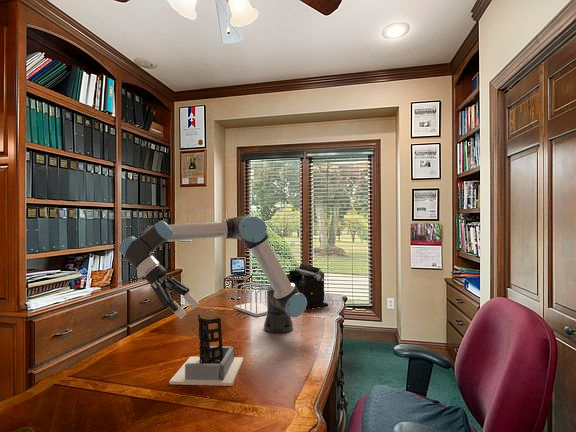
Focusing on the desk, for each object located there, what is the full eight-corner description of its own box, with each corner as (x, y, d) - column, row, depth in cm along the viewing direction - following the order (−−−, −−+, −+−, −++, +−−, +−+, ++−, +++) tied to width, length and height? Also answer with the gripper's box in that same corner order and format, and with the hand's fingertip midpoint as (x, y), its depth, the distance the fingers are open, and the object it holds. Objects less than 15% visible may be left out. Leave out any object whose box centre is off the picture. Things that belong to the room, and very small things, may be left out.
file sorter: (279, 311, 196) (279, 286, 196) (256, 317, 185) (256, 290, 185) (255, 304, 215) (255, 281, 215) (233, 308, 204) (233, 284, 204)
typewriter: (270, 301, 222) (270, 265, 222) (303, 296, 235) (303, 263, 235) (291, 312, 195) (291, 271, 195) (328, 306, 207) (327, 268, 208)
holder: (229, 363, 122) (225, 313, 120) (219, 374, 115) (216, 321, 113) (203, 360, 125) (200, 311, 123) (192, 371, 118) (189, 319, 116)
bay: (243, 359, 128) (243, 345, 128) (232, 385, 108) (232, 368, 108) (190, 358, 129) (190, 344, 129) (169, 384, 109) (169, 366, 109)
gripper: (160, 272, 133) (195, 308, 132) (127, 284, 108) (169, 329, 107) (172, 259, 133) (207, 296, 132) (142, 268, 108) (185, 313, 107)
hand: (190, 311), depth 120 cm, fingers open, 13 cm apart
